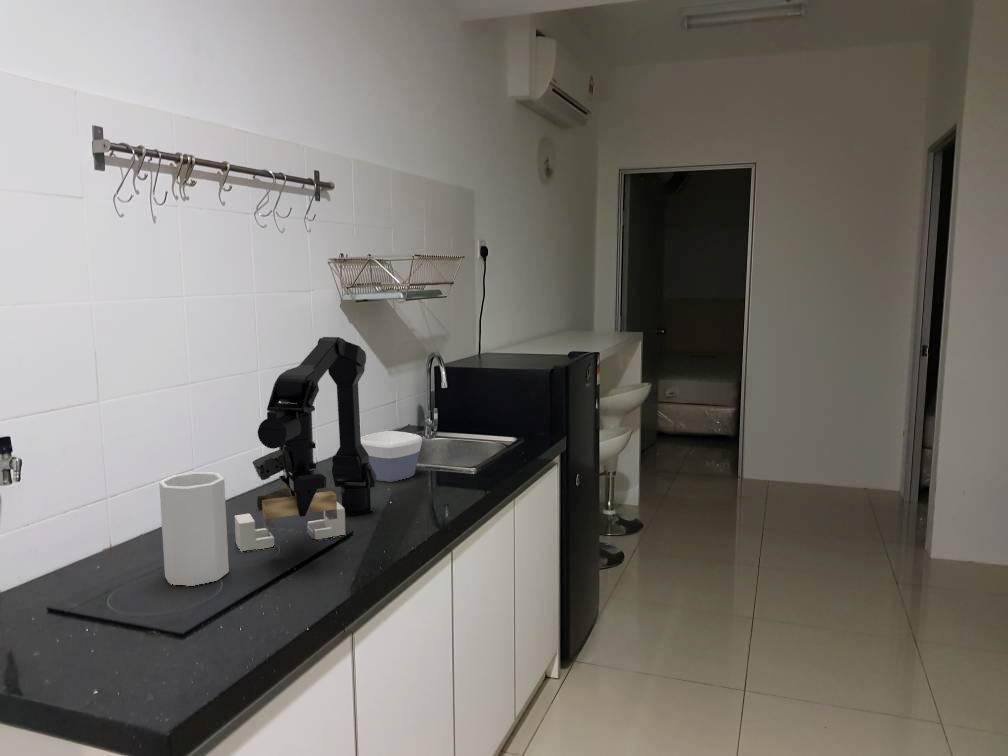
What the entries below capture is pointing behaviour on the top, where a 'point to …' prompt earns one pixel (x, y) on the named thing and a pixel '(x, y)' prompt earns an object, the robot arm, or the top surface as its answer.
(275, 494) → the brown wooden log
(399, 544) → the top surface
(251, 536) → the stepped white cradle
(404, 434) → the bowl
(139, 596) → the top surface
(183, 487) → the cup
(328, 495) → the rail
